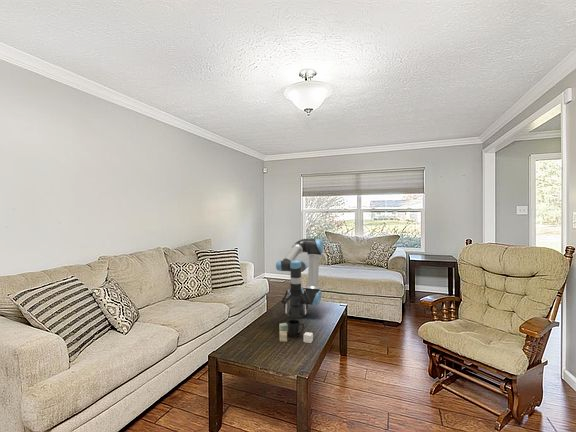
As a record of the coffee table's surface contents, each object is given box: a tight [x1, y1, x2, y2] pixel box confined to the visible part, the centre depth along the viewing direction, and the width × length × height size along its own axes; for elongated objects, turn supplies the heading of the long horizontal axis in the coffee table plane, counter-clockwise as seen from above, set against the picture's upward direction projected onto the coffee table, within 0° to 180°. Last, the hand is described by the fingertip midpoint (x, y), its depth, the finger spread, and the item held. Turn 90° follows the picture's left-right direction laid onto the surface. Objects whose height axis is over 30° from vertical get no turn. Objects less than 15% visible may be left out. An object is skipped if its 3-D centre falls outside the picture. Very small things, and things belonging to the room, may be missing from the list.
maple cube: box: [279, 330, 288, 343], centre depth 203 cm, size 5×5×5 cm
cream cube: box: [303, 331, 314, 344], centre depth 201 cm, size 5×5×5 cm
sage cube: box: [278, 322, 289, 333], centre depth 218 cm, size 5×5×5 cm
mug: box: [287, 319, 305, 338], centre depth 210 cm, size 8×12×10 cm
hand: (295, 313), depth 209 cm, fingers open, 13 cm apart
